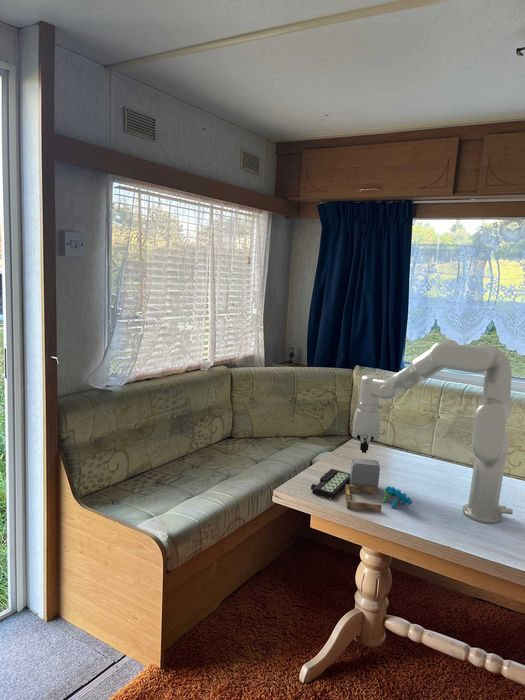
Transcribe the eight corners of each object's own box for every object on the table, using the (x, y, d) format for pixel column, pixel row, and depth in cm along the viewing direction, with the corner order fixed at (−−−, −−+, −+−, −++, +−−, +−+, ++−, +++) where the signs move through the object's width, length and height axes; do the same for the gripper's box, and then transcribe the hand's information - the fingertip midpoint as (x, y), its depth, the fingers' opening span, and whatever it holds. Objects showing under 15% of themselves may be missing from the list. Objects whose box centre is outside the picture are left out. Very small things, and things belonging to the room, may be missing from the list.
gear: (418, 504, 181) (404, 488, 177) (410, 519, 179) (396, 503, 175) (393, 496, 190) (380, 480, 186) (385, 509, 188) (372, 494, 184)
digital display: (329, 466, 207) (353, 473, 203) (328, 474, 208) (352, 481, 203) (308, 484, 189) (333, 492, 184) (307, 493, 189) (332, 501, 185)
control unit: (375, 485, 199) (378, 459, 197) (377, 493, 192) (380, 466, 190) (349, 482, 200) (351, 456, 198) (350, 490, 193) (352, 463, 191)
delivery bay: (376, 493, 192) (376, 486, 191) (380, 512, 178) (381, 504, 177) (344, 490, 193) (345, 483, 192) (347, 508, 179) (347, 500, 178)
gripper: (386, 406, 203) (381, 450, 206) (348, 402, 204) (344, 446, 207) (389, 411, 195) (384, 457, 198) (349, 407, 197) (345, 453, 200)
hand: (363, 451), depth 203 cm, fingers closed
